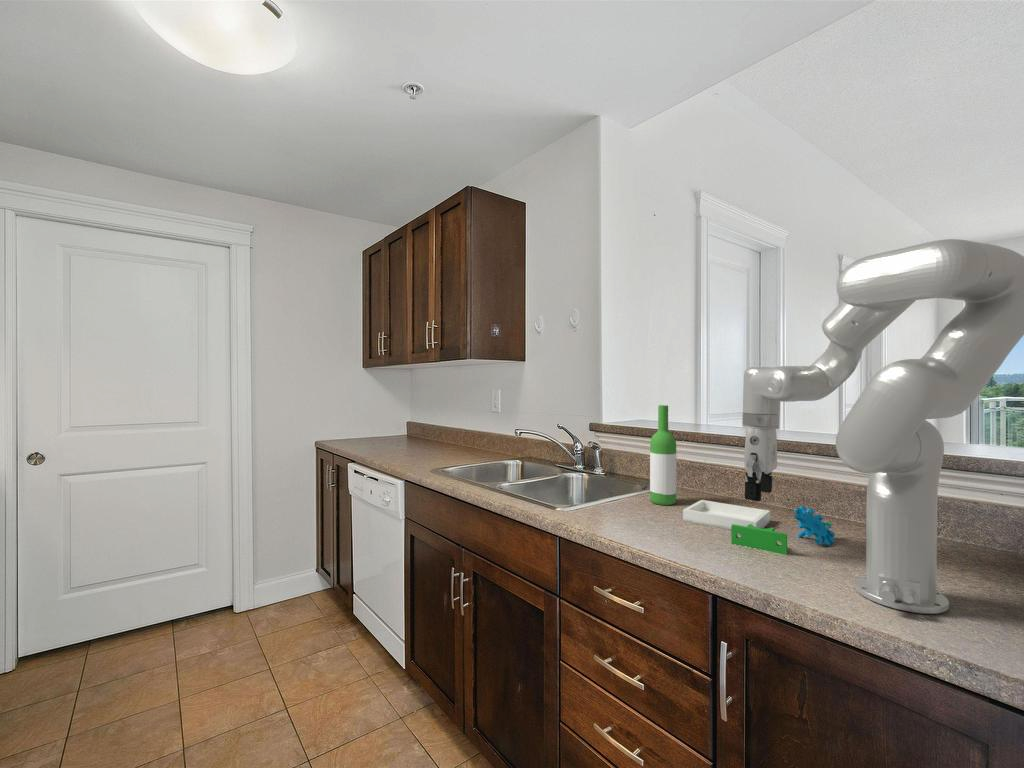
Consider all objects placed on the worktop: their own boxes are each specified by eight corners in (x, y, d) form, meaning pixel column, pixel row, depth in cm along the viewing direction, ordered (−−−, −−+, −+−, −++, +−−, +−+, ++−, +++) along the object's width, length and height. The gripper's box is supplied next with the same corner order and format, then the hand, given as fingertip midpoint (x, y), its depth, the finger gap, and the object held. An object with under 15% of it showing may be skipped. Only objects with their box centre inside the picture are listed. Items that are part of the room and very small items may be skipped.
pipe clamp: (789, 551, 107) (789, 530, 107) (786, 556, 104) (786, 535, 104) (735, 540, 114) (735, 521, 114) (731, 544, 111) (731, 524, 111)
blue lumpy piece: (816, 542, 107) (790, 503, 114) (796, 555, 111) (772, 516, 117) (849, 543, 111) (822, 505, 118) (829, 555, 115) (804, 518, 122)
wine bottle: (655, 498, 154) (655, 404, 154) (679, 501, 149) (679, 405, 149) (646, 503, 148) (646, 405, 147) (671, 507, 143) (671, 406, 143)
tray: (756, 534, 118) (756, 522, 118) (683, 520, 129) (683, 509, 129) (770, 521, 128) (770, 510, 128) (701, 510, 140) (701, 499, 140)
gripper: (769, 426, 101) (767, 507, 101) (787, 419, 114) (785, 491, 114) (731, 422, 105) (729, 500, 106) (753, 417, 119) (751, 486, 119)
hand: (758, 495), depth 110 cm, fingers open, 9 cm apart
